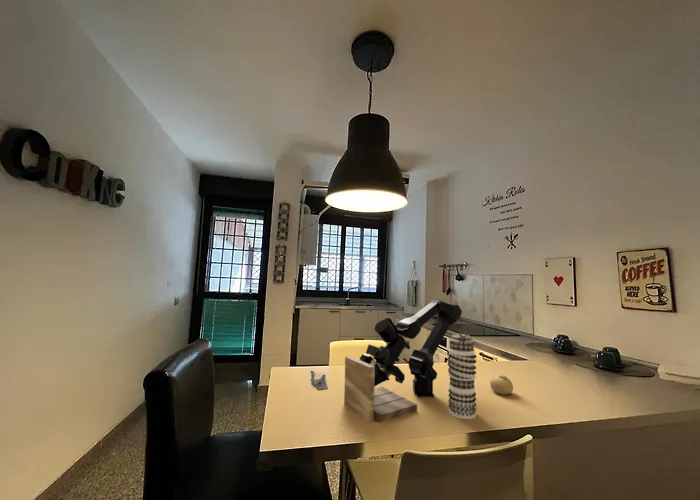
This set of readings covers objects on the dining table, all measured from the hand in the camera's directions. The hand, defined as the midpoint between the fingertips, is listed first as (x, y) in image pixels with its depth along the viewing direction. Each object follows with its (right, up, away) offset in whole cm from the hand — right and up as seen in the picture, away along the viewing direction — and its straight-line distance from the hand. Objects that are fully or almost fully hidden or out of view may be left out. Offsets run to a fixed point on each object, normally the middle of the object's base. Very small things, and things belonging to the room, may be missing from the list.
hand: (366, 388), depth 99 cm
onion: (+53, -9, +16) cm, 56 cm away
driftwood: (-18, -9, +26) cm, 33 cm away
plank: (-4, -6, -3) cm, 8 cm away
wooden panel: (+5, -7, +3) cm, 9 cm away
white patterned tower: (+31, -7, -2) cm, 32 cm away
